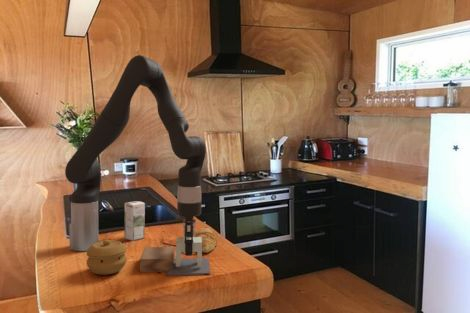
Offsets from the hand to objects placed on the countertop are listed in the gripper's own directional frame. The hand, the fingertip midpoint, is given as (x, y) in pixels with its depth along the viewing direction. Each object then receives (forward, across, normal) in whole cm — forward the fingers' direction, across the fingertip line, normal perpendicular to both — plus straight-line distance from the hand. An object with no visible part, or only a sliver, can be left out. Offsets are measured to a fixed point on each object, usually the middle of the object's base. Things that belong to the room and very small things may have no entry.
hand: (188, 251), depth 123 cm
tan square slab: (+5, +3, +10) cm, 12 cm away
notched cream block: (+4, 0, 0) cm, 4 cm away
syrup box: (+5, +33, +22) cm, 40 cm away
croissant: (+6, +22, -5) cm, 23 cm away
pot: (+5, -2, +25) cm, 26 cm away
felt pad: (+5, 0, 0) cm, 5 cm away
